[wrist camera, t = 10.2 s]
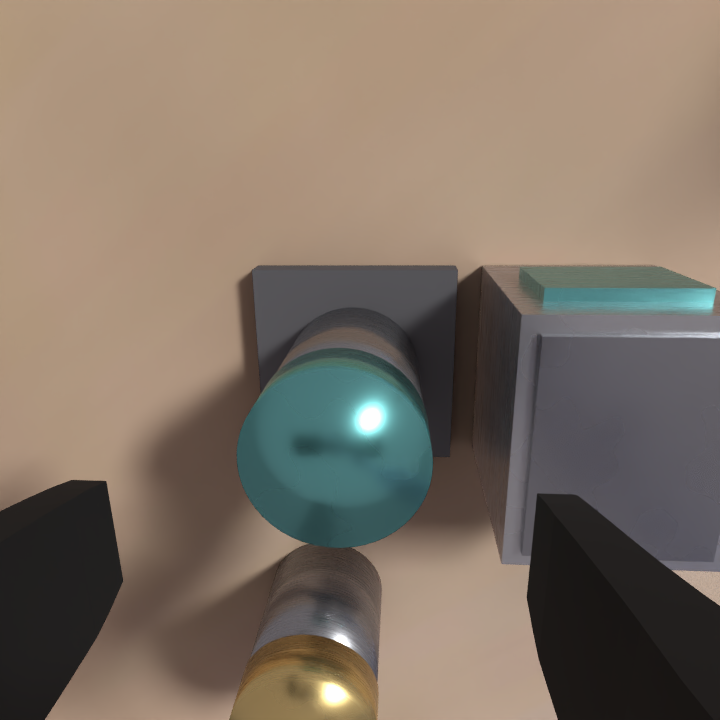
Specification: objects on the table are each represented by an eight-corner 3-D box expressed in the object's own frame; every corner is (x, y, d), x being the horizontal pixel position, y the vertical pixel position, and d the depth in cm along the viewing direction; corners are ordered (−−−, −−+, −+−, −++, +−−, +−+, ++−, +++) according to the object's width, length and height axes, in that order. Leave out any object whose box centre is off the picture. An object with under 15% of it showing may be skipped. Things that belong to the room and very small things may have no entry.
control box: (626, 449, 19) (729, 577, 13) (472, 446, 19) (503, 569, 13) (656, 255, 17) (792, 303, 11) (482, 255, 17) (524, 302, 11)
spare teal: (429, 422, 18) (444, 536, 12) (301, 439, 19) (260, 557, 13) (410, 295, 17) (418, 356, 11) (274, 317, 17) (216, 386, 12)
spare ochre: (383, 633, 22) (376, 796, 16) (276, 629, 22) (233, 787, 17) (383, 542, 21) (376, 685, 15) (270, 539, 21) (221, 677, 15)
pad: (447, 445, 19) (449, 456, 18) (270, 441, 20) (265, 452, 19) (455, 265, 17) (457, 270, 17) (258, 265, 18) (251, 269, 17)
